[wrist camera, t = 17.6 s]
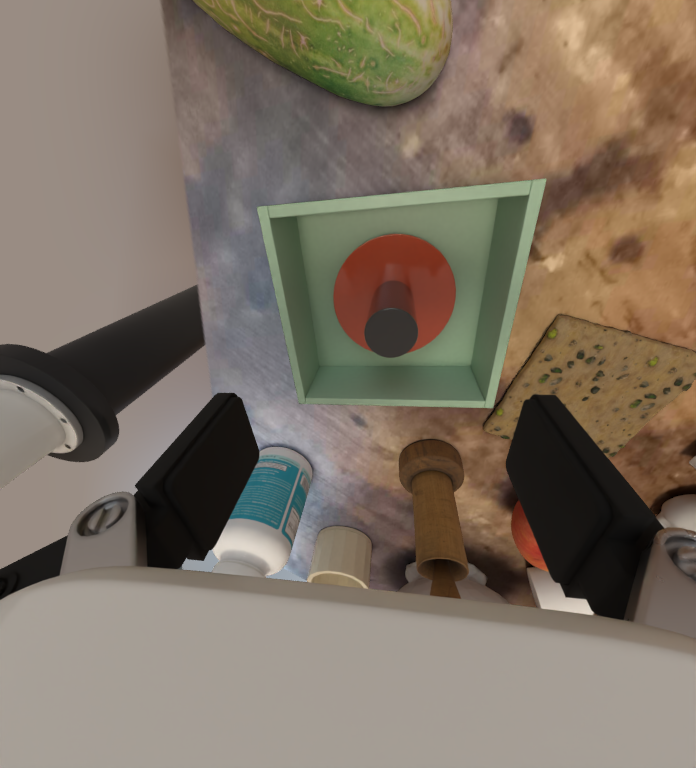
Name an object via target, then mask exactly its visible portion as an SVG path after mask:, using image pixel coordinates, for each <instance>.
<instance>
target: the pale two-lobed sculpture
mask: <svg viewBox="0 0 696 768" xmlns="http://www.w3.org/2000/svg"><path fill="white" fill-rule="evenodd" d="M656 518H657V520H658V521H659V522H660V523H661V525H662V526H663V527H664V528H683V529H687V530H692V531H695V532H696V494H687V495H680V496H676V497H674V498H671V499H669V500H667V501H666V502H664V503H663V505H662V509H661V512H660V513H659V514H658V515H657V516H656Z"/></svg>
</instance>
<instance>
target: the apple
mask: <svg viewBox="0 0 696 768" xmlns="http://www.w3.org/2000/svg"><path fill="white" fill-rule="evenodd" d="M511 529H512V535H513V538H514V541H515V544H516V546H517V548H518V550H519V551H520V553H521V554H522V556H523V557H524V558H525V559H526V560H527V561H528V562H529V563H531V564H532V565H533V566H535V567H537V568H539V569H541V570H544V571H548V569H547V566H546V564H545V562H544V559H543V557H542V554H541V552H540V549H539V547H538V545H537V542H536V540H535V537H534V535H533V533H532V530H531V528H530V525H529V523H528V521H527V518H526V516H525V513H524V511H523V509H522V506H521V504H520V501H519V500H518V502H517V503H516V505H515V507H514V510H513V514H512V520H511ZM548 572H549V571H548Z"/></svg>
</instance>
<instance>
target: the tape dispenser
mask: <svg viewBox="0 0 696 768" xmlns="http://www.w3.org/2000/svg"><path fill="white" fill-rule="evenodd" d="M689 464H690V465H692V466H693V467H694V468H695V469H696V456H695V457H693V458H692V459H691V460H690V461H689Z"/></svg>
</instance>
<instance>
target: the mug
mask: <svg viewBox="0 0 696 768" xmlns="http://www.w3.org/2000/svg"><path fill="white" fill-rule="evenodd" d="M526 570H527V575H528V579H529V583H530V587H531V590H532V594H533V597H534V600H535V604H536V607H537V608H542V609H550V610H558V611H565V612H573V613H581V614H588V615H593V613H594V612H593V611H591V608H590V606H589V604H588V602H587V600H586V599H577V598H567V597H565V595H564V592H563V590H562V588H561V585H560V583H556V582H554V581H553V579H552V578H551V576H550V574H549V572H548V571H544V570H541V569H539V568H537V567H530V568H526Z"/></svg>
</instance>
